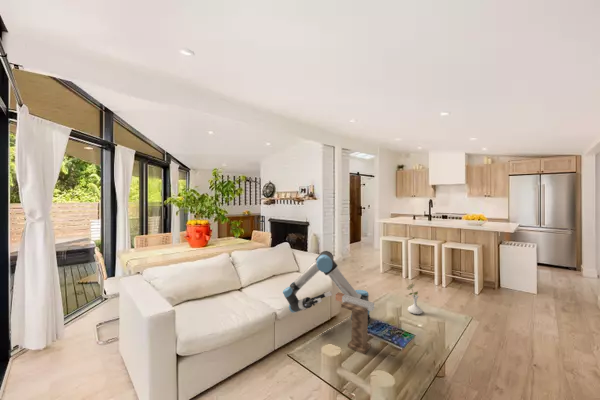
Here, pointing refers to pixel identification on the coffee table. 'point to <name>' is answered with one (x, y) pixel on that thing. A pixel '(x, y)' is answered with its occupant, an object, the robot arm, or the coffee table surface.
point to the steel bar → (355, 301)
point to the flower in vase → (414, 307)
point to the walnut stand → (358, 328)
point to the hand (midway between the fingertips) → (326, 296)
